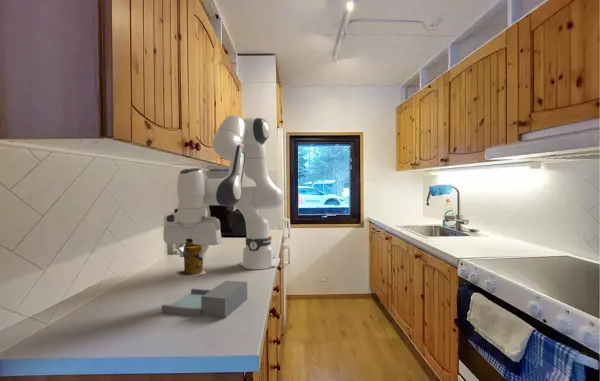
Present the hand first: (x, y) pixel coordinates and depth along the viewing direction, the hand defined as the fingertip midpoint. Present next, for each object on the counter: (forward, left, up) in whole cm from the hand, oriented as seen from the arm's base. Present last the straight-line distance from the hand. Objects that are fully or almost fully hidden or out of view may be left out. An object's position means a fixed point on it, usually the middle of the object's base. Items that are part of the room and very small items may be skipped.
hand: (192, 257), depth 106 cm
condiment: (0, -1, -6) cm, 6 cm away
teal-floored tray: (0, +5, -16) cm, 17 cm away
